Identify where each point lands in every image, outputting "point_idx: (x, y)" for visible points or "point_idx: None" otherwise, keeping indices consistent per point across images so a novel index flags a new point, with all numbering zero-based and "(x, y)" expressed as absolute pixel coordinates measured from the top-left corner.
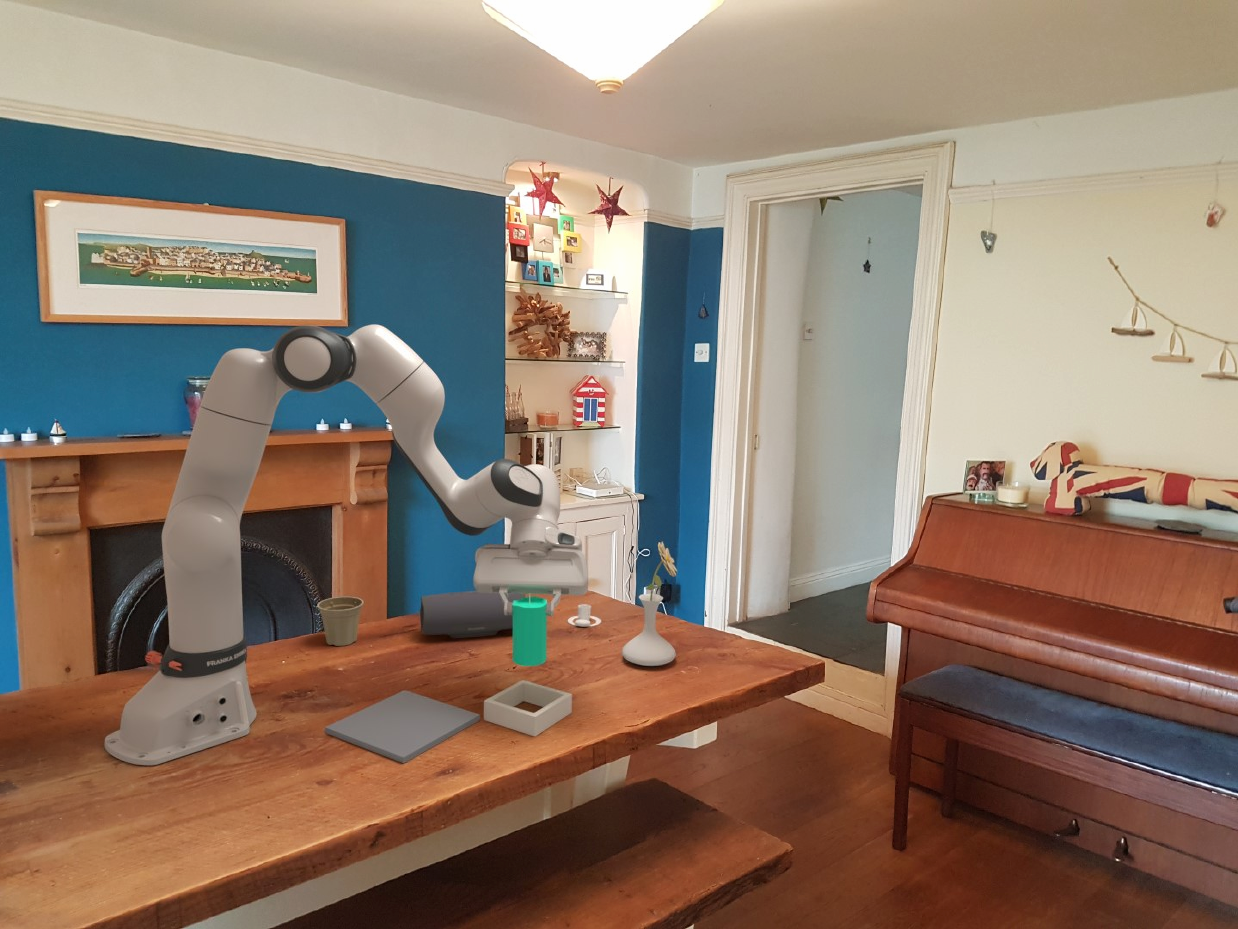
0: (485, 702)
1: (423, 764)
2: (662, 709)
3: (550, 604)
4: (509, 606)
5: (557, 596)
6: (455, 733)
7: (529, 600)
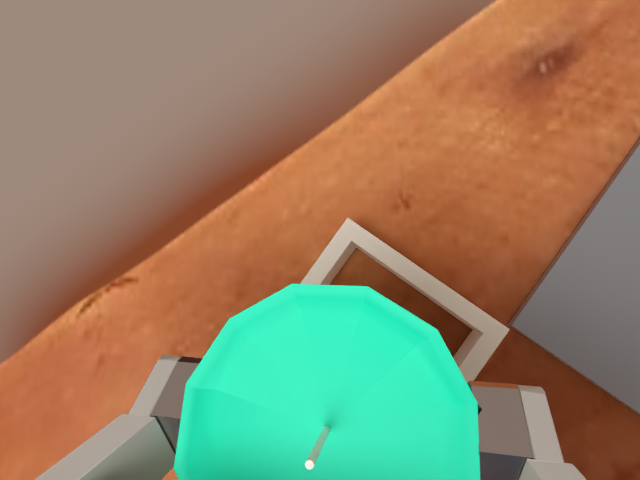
0: (503, 325)
1: (618, 91)
2: (37, 368)
3: (159, 406)
4: (504, 413)
5: (66, 465)
6: (565, 243)
7: (324, 441)
